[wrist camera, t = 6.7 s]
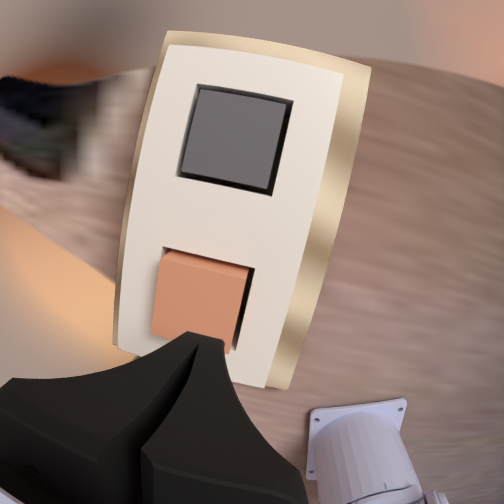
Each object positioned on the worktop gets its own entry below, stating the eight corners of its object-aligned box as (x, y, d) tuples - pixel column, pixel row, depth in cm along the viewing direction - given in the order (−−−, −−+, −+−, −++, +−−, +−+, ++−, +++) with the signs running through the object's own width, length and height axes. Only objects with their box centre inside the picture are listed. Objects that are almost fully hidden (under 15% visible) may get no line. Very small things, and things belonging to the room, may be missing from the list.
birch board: (286, 382, 22) (287, 389, 21) (118, 338, 22) (112, 344, 21) (367, 72, 17) (371, 67, 16) (172, 36, 17) (167, 30, 16)
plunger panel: (266, 352, 20) (264, 388, 17) (141, 321, 21) (117, 348, 17) (329, 95, 17) (343, 74, 13) (188, 68, 17) (168, 44, 13)
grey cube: (268, 187, 18) (266, 189, 14) (200, 173, 18) (181, 171, 14) (283, 120, 17) (286, 104, 13) (215, 107, 17) (200, 89, 13)
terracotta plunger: (237, 320, 19) (228, 354, 15) (173, 304, 19) (151, 333, 15) (251, 257, 18) (246, 278, 14) (183, 241, 18) (160, 258, 14)
